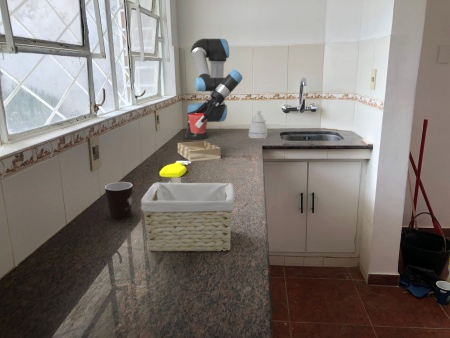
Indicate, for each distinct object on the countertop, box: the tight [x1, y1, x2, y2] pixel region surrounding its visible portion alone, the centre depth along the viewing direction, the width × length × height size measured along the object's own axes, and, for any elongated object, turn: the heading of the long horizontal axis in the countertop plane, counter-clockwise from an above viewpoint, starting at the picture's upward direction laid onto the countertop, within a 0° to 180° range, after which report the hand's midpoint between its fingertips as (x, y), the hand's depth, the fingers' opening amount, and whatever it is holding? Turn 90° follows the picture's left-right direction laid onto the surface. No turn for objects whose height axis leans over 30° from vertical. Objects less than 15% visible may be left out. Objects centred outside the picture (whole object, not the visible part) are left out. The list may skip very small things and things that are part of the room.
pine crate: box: [177, 140, 222, 162], centre depth 201 cm, size 22×17×6 cm
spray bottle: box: [159, 160, 192, 178], centre depth 173 cm, size 3×11×24 cm
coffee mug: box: [104, 181, 134, 220], centre depth 120 cm, size 12×9×10 cm
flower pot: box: [187, 113, 208, 134], centre depth 197 cm, size 11×11×10 cm
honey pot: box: [248, 110, 268, 139], centre depth 253 cm, size 13×13×18 cm
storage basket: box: [140, 181, 236, 252], centre depth 101 cm, size 24×16×15 cm
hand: (193, 125), depth 196 cm, fingers closed on flower pot, 11 cm apart
